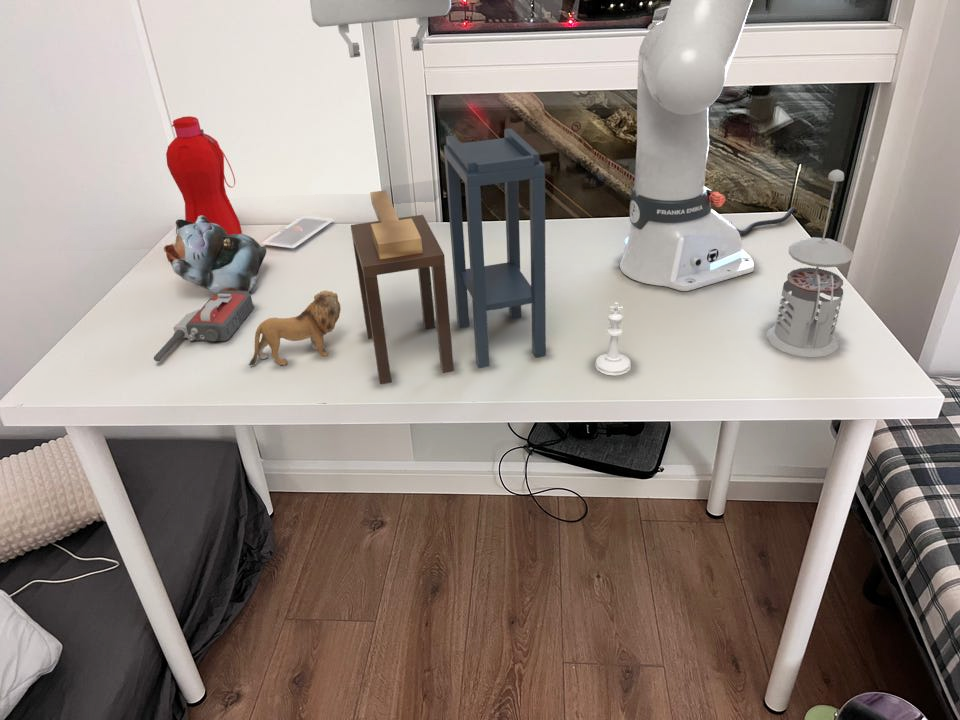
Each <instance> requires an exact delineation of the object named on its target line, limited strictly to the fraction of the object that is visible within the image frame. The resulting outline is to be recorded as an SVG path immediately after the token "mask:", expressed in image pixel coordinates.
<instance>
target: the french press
mask: <svg viewBox="0 0 960 720" xmlns="http://www.w3.org/2000/svg"><path fill="white" fill-rule="evenodd" d="M827 179H828V180H829V181H832V182H833V186H832V191H831V196H830V200H829V205H828V210H827V215H826V220H825V225H824V230H823V234H822V237H809V238H804V239H800V240H798V241H796V242H793V243H792V244H790V245H789V246H788V255H790V257H791V258H792V259H793V260H794V261H797V262H799V263H800V264H804V265H807V266H811V267H800V268H799V267H798V268H796V269H793V270H791V271H790V272H789V273H788V274H787V276H786V277H787V279H786V281H784V282H783V286H782V290H781V296H782V298H780V299H779V304H780V305H781V306H778V314H777V317H776V320H777V321H776V322H775V324H774V325H773V326H772V327H771V328H770V329H768V330H767V333H766V339H767V340H768V342H769V344H770V345H772V346H773V347H774V348H776V349H778V350H779V351H780V352H784V353H786V354H789V355H792V356H795V357H803V358H823V357H825V356H829V355H831V354H834V353H835V352H836V351H837V350H838V349H839V348H840V346H839V345H840V343H839V342H840V341H839V339H838V337H836V336H835V331H836V325H837V323H838V317H839V315H840V309H841V305H842V301H843V298H844V297H843V296H844V289H843V288H842V287H843V285H844V281H843V279H842V277H841V276H839V275H838V274H837V273H834V272H833V271H831V270H830V271H829V270H827V269H824V268H837V267H840V266H843V265H846V264H848V263H849V262H850V261H852V259H854V252H853V251H852V250H851V249H850V248H848V246H846V244H843V243H840V242H838V241H836V240H834V239H832V238H828V237H827V238H825V237H826V233H827V228H828V225H829V224H828V223H829V219H830V214H831V209H832V204H833V200H834V195H835V191H836V185H837V182H842V181H845V172H843V171H842V170H840V169H833V170H832V171H830V172H829V173H828V177H827ZM821 294H824V295H827V296H829V297H830V299H829V298H825V297H823V296H821ZM834 298H835V299H834ZM786 302H787V303H786ZM784 310H785V311H784ZM818 310H819V311H818ZM782 317H783V318H782ZM816 317H817V319H816Z"/></svg>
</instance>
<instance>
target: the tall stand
mask: <svg viewBox="0 0 960 720" xmlns="http://www.w3.org/2000/svg"><path fill="white" fill-rule="evenodd" d="M503 131H504V132H503V136H504V137H501V138H493V139H486V140H485V139H484V140H477V141H470V142H461V143H460V142H459V140H457V139H456V137H455V136H454V135H446V136H445V140H446V142H445V143H446V144H445V145H443V153H444V164H445V165H444V167H445V179H446V193H447V205H448V217H449V231H450V233H449V234H450V243H451V244H450V245H451V258H452V271H453V284H454V297H455V309H456V311H455V312H456V323H457V325H458V328H459V329H464V328H469V327H470V314H469V313H470V312H469V311H470V310H469V298H468V296H469V295H470V297H471V301H472V302H471V303H472V319H473V333H474V334H473V335H474V351H475V364H476V366H477V367H478V369H482V368H488V367H490V349H489V332H488V331H489V330H488V327H489V326H488V312H489V311H495V310H502V309H507V308H508V315H509V317H510V319H511V320H516V319H522V306H525V305H531V306H530V307H531V353H532V355H533V356H534V358H536V359H538V358H542V357H543V358H544V357H546V356H547V351H546V350H547V344H546V343H547V339H546V338H547V336H546V334H547V332H546V330H547V329H546V326H547V325H546V323H547V322H546V320H547V319H546V317H547V315H546V312H547V310H546V308H547V307H546V305H547V303H546V302H547V301H546V298H547V297H546V165H545V163H543V161H541V160H540V153H539V152H538V151H537V150H536V149H535V148H533V147H532V146H531V145H530V144H529V143H528V142H527V141H525V140H524V138H522V137H521V136H520V135H519V134H518V133H517V132H516V131H514V130H513V129H512V128H510V127H509V128H504V129H503ZM461 180H462V182H463V183H464V190H465V191H464V192H465V206H466V208H465V209H466V223H467V224H466V225H467V240H468V255H469V268H466V267H467V266H466V265H467V264H466V253H465V252H466V251H465V238H464V237H465V236H464V223H463V222H464V221H463V207H462V205H463V204H462V192H461ZM525 180H526V181H527V180H529V234H530V236H529V237H530V239H529V240H530V282H529V281H528V280H527V278H526V277H525V276H524V274H523V272H522V271H521V241H520V240H521V238H520V200H519V199H520V197H519V196H520V195H519V181H525ZM496 184H497V185H498V184H504V203H505V204H504V205H505V209H504V210H505V234H506V237H505V238H506V262H501V263H496V264H488V265H485V253H484V252H485V251H484V233H483V232H484V231H483V214H482V213H483V212H482V195H481V193H482V192H481V187H482V186H490V185H496ZM468 294H469V295H468Z"/></svg>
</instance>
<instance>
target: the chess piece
mask: <svg viewBox="0 0 960 720" xmlns="http://www.w3.org/2000/svg"><path fill="white" fill-rule="evenodd" d="M623 309H624V307H623V306H619V302H618V301H614V305H609V311H611V312H610V313H608V315H607V318H608V322H609V325H610V327H608V328H607V330H606V334H607V335H609V336H610V340H609V345H608V350H607V352H606V353H602V354H600V355H598V356H597V358H596V360H595V363H594V366H595V369H596V370H597V371H598V372H599V373H601V374H603V375H607V376H614V377H615V376H623V375H625V374H627V373H628V372H630V370H631V368H632V365H631V364H632V363H631V360H630V358H629V357H628V356H627V355H625V354H621V353H620V344H619V343H620V342H619V336H621V335H623V333H624V332H623V329H622V328H621V327H620V326H621V324H622V321H623V319H624V315H623V314H622V313H620V312H623Z"/></svg>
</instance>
